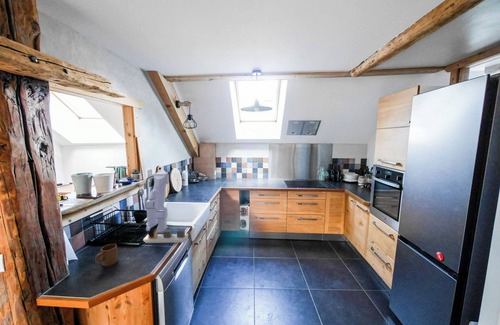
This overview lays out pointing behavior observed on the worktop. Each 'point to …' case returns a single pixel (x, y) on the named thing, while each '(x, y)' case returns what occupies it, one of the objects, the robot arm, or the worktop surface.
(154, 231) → the plug
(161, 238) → the pdu strip
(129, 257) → the worktop surface
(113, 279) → the worktop surface
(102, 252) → the mug
